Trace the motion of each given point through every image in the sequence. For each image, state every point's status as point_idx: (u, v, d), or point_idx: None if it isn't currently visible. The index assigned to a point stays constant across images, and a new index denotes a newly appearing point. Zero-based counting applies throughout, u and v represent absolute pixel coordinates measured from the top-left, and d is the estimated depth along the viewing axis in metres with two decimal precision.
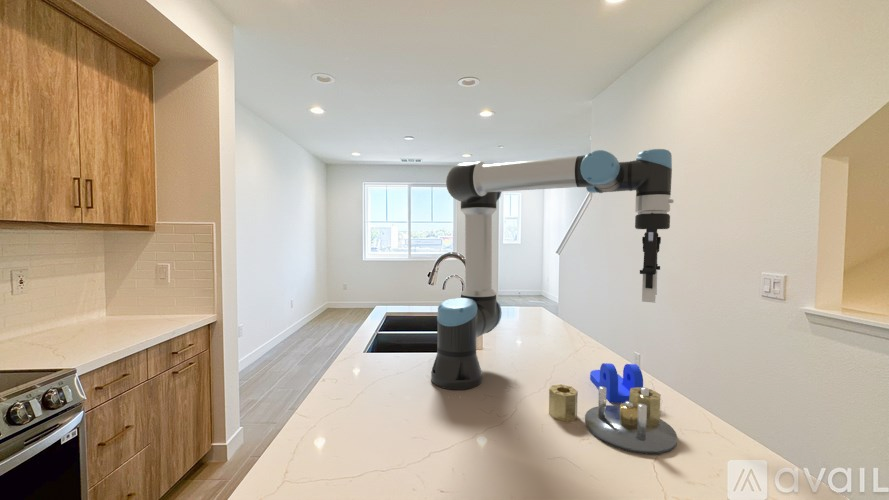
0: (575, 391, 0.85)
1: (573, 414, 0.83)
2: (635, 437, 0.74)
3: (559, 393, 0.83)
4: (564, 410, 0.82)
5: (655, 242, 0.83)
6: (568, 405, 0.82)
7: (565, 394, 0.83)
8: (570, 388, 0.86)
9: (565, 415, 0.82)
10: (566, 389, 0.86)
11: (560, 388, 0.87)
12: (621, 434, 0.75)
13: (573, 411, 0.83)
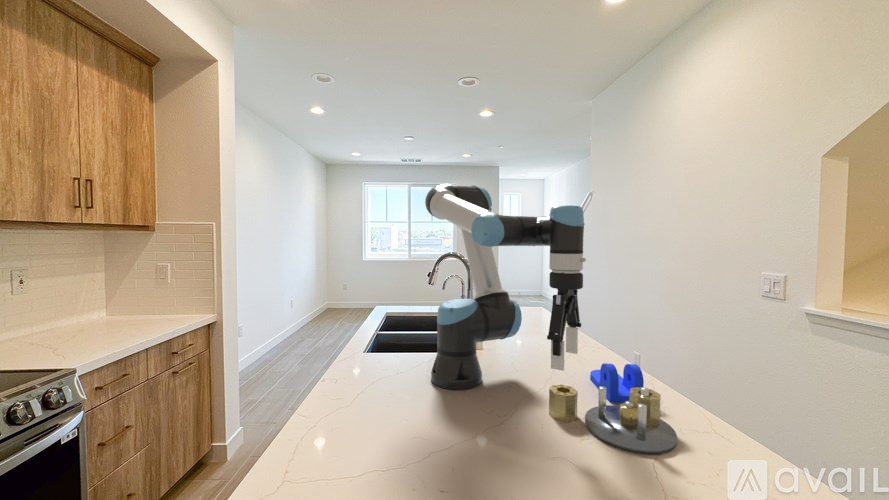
0: (575, 391, 0.85)
1: (573, 414, 0.83)
2: (635, 437, 0.74)
3: (559, 393, 0.83)
4: (564, 410, 0.82)
5: (562, 306, 0.78)
6: (568, 405, 0.82)
7: (565, 394, 0.83)
8: (570, 388, 0.86)
9: (565, 415, 0.82)
10: (566, 389, 0.86)
11: (560, 388, 0.87)
12: (621, 434, 0.75)
13: (573, 411, 0.83)
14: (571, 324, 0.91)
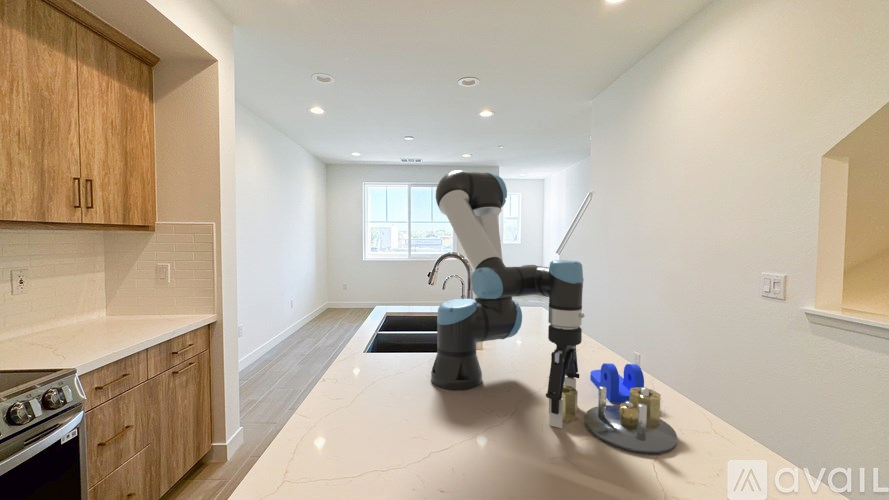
0: (575, 391, 0.85)
1: (573, 414, 0.83)
2: (635, 437, 0.74)
3: None
4: (564, 410, 0.82)
5: (561, 365, 0.78)
6: (568, 405, 0.82)
7: (565, 394, 0.83)
8: (570, 388, 0.86)
9: (565, 415, 0.82)
10: (566, 389, 0.86)
11: None
12: (621, 434, 0.75)
13: (573, 411, 0.83)
14: (569, 375, 0.91)
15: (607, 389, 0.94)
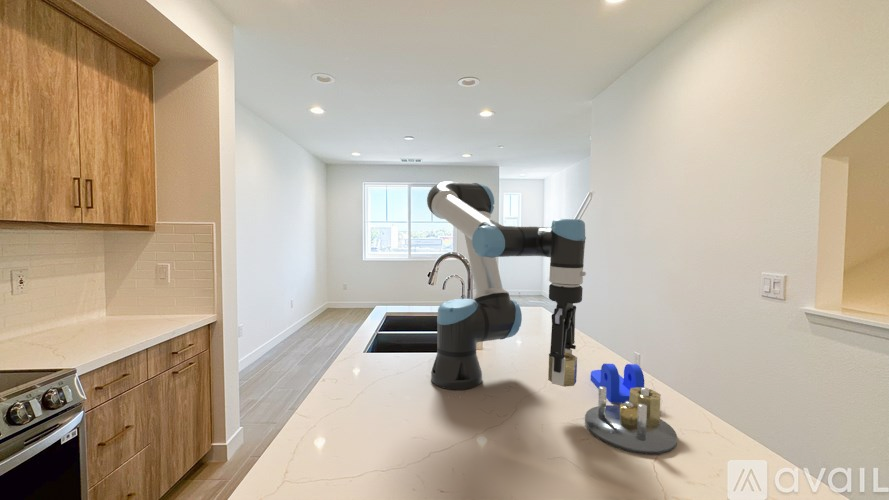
0: (575, 357, 0.85)
1: (572, 379, 0.83)
2: (635, 437, 0.74)
3: None
4: None
5: (561, 326, 0.79)
6: (568, 370, 0.83)
7: (565, 360, 0.83)
8: (570, 355, 0.86)
9: (564, 380, 0.83)
10: (566, 356, 0.86)
11: None
12: (621, 434, 0.75)
13: (572, 377, 0.83)
14: (565, 346, 0.89)
15: (607, 389, 0.94)
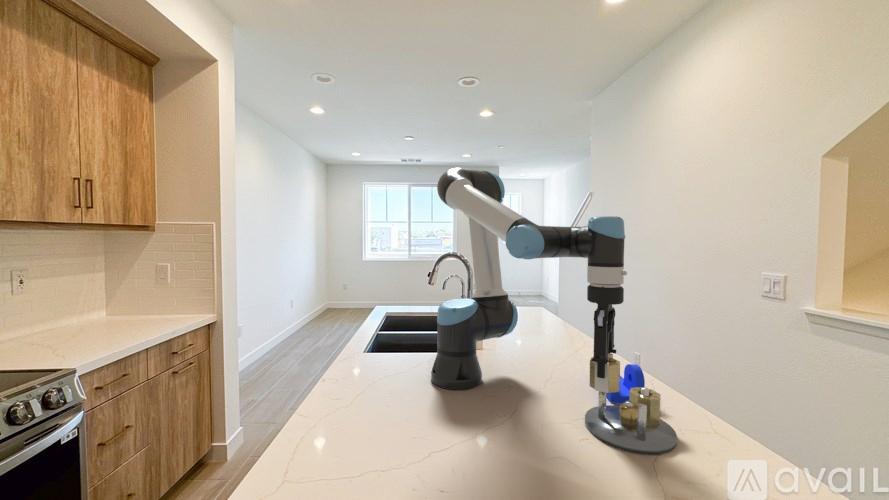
0: (617, 362, 0.80)
1: (617, 385, 0.78)
2: (635, 437, 0.74)
3: None
4: None
5: (605, 329, 0.75)
6: (611, 376, 0.78)
7: None
8: (612, 359, 0.82)
9: (609, 386, 0.78)
10: None
11: None
12: (621, 434, 0.75)
13: (617, 382, 0.78)
14: None
15: None
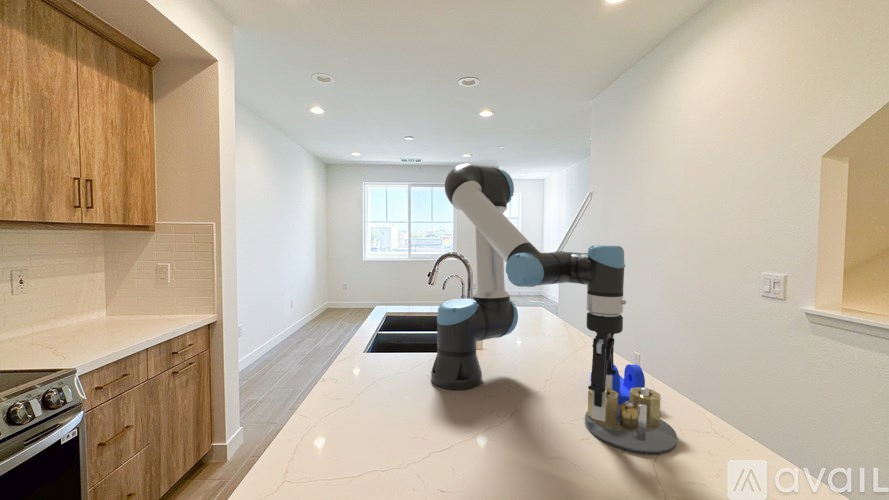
0: (616, 393, 0.81)
1: (615, 417, 0.79)
2: (635, 437, 0.74)
3: None
4: (605, 413, 0.79)
5: (603, 356, 0.75)
6: (610, 408, 0.79)
7: (606, 396, 0.79)
8: (610, 390, 0.82)
9: (606, 418, 0.79)
10: (606, 391, 0.83)
11: None
12: (621, 434, 0.75)
13: (615, 414, 0.79)
14: None
15: None
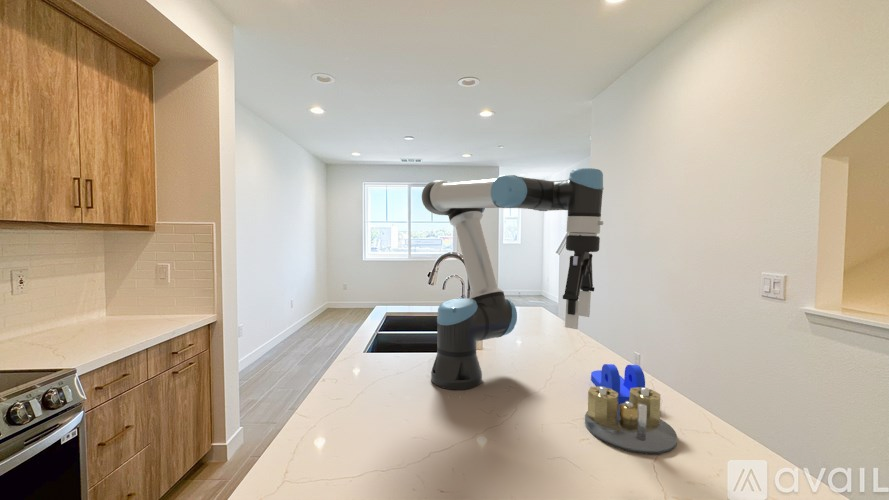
0: (616, 393, 0.81)
1: (615, 417, 0.79)
2: (635, 437, 0.74)
3: (600, 395, 0.80)
4: (605, 413, 0.79)
5: (579, 267, 0.79)
6: (610, 408, 0.79)
7: (606, 396, 0.79)
8: (610, 390, 0.82)
9: (606, 418, 0.79)
10: (606, 391, 0.83)
11: None
12: (621, 434, 0.75)
13: (615, 414, 0.79)
14: (584, 288, 0.93)
15: None
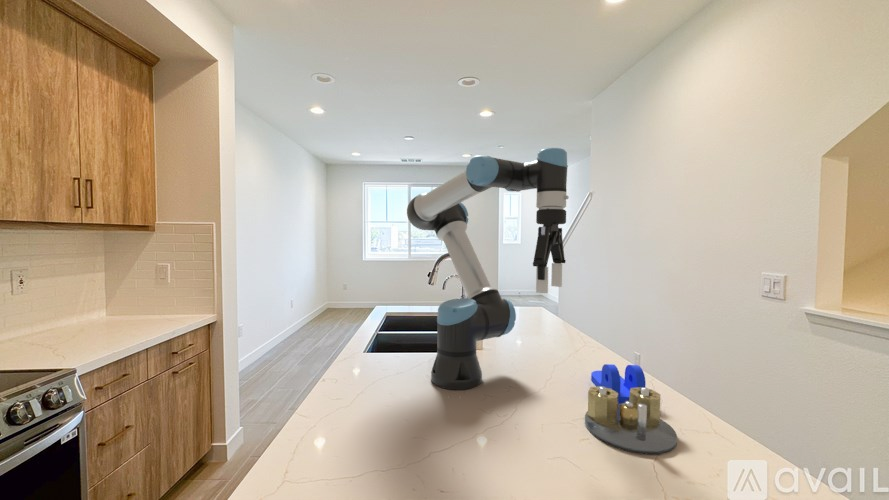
0: (616, 393, 0.81)
1: (615, 417, 0.79)
2: (635, 437, 0.74)
3: (600, 395, 0.80)
4: (605, 413, 0.79)
5: (546, 236, 0.87)
6: (610, 408, 0.79)
7: (606, 396, 0.79)
8: (610, 390, 0.82)
9: (606, 418, 0.79)
10: (606, 391, 0.83)
11: None
12: (621, 434, 0.75)
13: (615, 414, 0.79)
14: (556, 261, 1.00)
15: None
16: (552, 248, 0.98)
